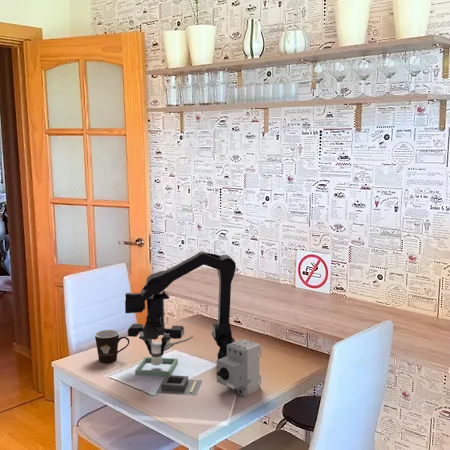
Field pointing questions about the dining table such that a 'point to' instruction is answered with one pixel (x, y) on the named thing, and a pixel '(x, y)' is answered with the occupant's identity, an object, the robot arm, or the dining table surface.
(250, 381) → the circuit breaker
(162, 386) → the board
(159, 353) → the white banded cylinder
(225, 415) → the dining table surface
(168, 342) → the pliers
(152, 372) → the parts tray
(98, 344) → the coffee mug
